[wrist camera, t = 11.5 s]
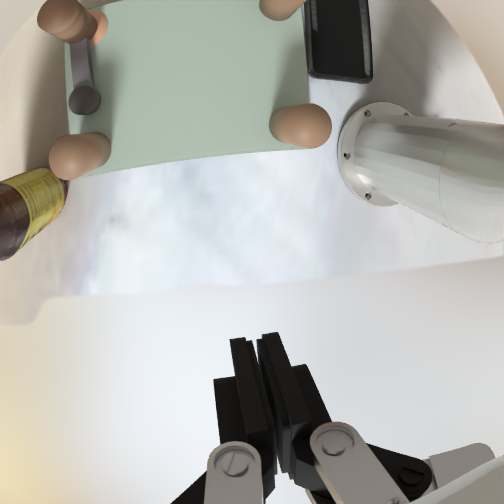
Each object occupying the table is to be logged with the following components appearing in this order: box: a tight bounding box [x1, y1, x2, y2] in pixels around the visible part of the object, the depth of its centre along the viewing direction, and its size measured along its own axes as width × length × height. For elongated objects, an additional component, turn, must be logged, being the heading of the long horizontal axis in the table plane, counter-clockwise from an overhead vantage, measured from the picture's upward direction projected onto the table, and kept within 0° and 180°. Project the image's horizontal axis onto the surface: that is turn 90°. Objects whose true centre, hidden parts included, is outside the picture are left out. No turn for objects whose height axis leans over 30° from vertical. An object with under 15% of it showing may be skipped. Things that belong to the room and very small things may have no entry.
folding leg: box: [37, 0, 101, 115], centre depth 20 cm, size 11×4×7 cm, turn 7°
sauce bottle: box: [0, 168, 67, 261], centre depth 21 cm, size 7×6×20 cm
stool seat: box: [49, 0, 332, 180], centre depth 24 cm, size 24×18×9 cm
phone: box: [304, 0, 373, 84], centre depth 28 cm, size 8×1×15 cm
